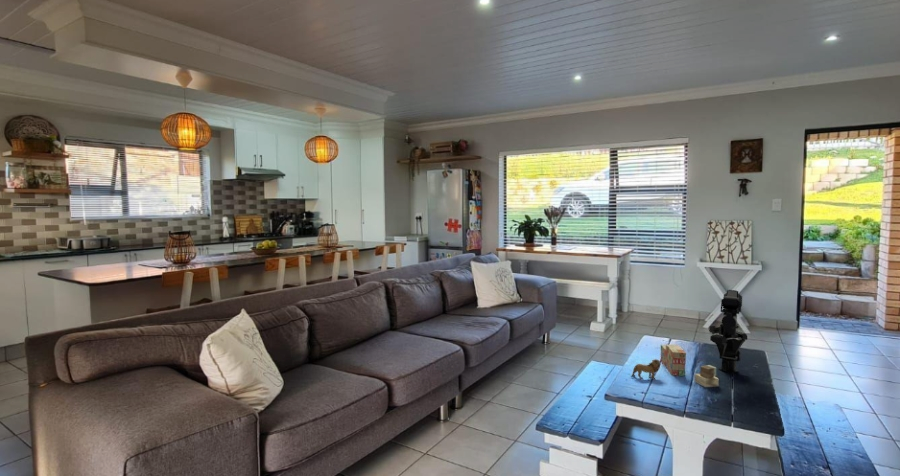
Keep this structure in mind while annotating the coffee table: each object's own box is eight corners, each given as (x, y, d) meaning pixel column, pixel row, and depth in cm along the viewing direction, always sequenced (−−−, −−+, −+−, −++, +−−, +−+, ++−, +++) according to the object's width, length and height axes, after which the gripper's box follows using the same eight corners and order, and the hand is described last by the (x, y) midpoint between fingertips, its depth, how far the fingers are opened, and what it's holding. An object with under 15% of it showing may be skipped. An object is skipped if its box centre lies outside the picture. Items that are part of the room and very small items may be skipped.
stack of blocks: (660, 361, 248) (660, 339, 247) (672, 361, 247) (673, 339, 246) (671, 375, 227) (672, 351, 226) (685, 376, 226) (686, 352, 225)
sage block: (708, 373, 230) (709, 365, 229) (716, 376, 226) (716, 367, 226) (703, 374, 228) (703, 366, 228) (710, 377, 225) (710, 368, 224)
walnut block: (705, 374, 219) (706, 365, 218) (713, 377, 215) (714, 367, 215) (700, 375, 217) (700, 366, 217) (707, 378, 214) (708, 369, 213)
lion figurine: (656, 375, 228) (657, 357, 227) (662, 379, 222) (663, 361, 222) (628, 375, 226) (629, 358, 226) (633, 380, 221) (634, 362, 220)
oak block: (708, 381, 221) (708, 373, 220) (718, 386, 214) (718, 378, 213) (694, 381, 220) (695, 373, 219) (704, 387, 213) (705, 379, 212)
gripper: (727, 317, 230) (725, 347, 232) (700, 320, 223) (699, 351, 225) (748, 322, 220) (747, 354, 221) (722, 326, 213) (720, 359, 214)
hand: (728, 354), depth 221 cm, fingers open, 9 cm apart
